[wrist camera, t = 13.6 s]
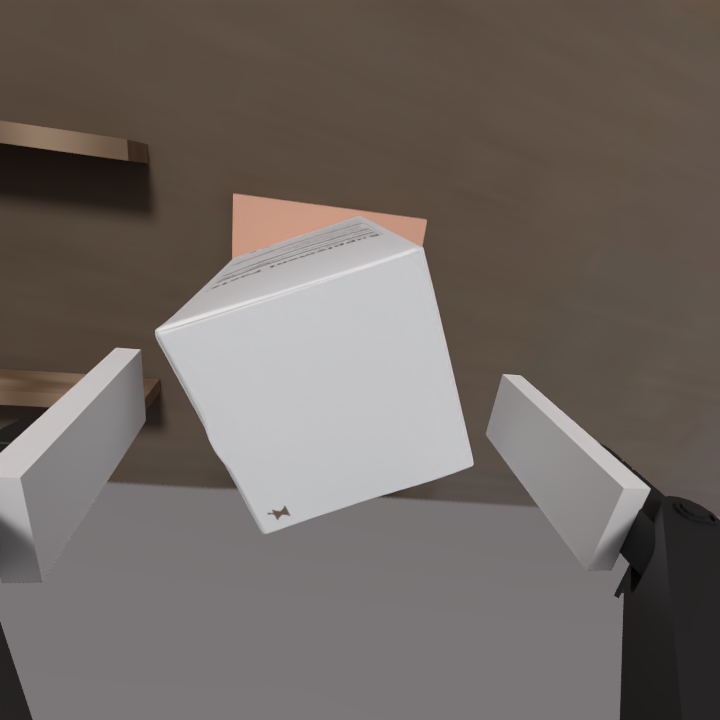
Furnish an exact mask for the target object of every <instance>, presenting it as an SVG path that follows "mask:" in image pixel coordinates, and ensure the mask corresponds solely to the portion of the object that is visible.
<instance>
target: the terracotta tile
mask: <svg viewBox="0 0 720 720" xmlns="http://www.w3.org/2000/svg"><path fill="white" fill-rule="evenodd" d="M357 216H362V217H364V218H366V219H368V220H370V221H372V222H374V223H376V224H378V225H380V226H382V227H384V228H386V229H387V230H389V231H391V232H393V233H395V234H397V235H399V236H401V237H403V238H405V239H407V240H409V241H411V242H413V243H415V244H417V245H419V246H421V247H422V245H423V240H424V234H425V229H426V223H427V220H426V219H423V218H415V217H408V216H400V215H393V214H385V213H378V212H370V211H363V210H356V209H348V208H341V207H333V206H326V205H318V204H311V203H303V202H296V201H288V200H281V199H274V198H266V197H259V196H251V195H244V194H236V193H235V194H233V239H232V259H233V258H235V257H238V256H241V255H243V254H246V253H249V252H252V251H255V250H258V249H261V248H264V247H267V246H270V245H273V244H276V243H279V242H282V241H285V240H288V239H291V238H294V237H297V236H300V235H303V234H306V233H309V232H312V231H315V230H318V229H321V228H324V227H327V226H330V225H332V224H335V223H338V222H341V221H344V220H347V219H350V218H354V217H357Z"/></svg>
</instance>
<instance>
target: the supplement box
mask: <svg viewBox="0 0 720 720" xmlns="http://www.w3.org/2000/svg"><path fill="white" fill-rule="evenodd" d="M155 336H156V339H157V341H158V343H159V344H160V346H161V348H162V350H163V352H164V354H165V355H166V357H167V359H168V361H169V363H170V365H171V366H172V368H173V370H174V372H175V374H176V376H177V377H178V379H179V381H180V383H181V385H182V387H183V388H184V390H185V392H186V394H187V396H188V398H189V399H190V401H191V403H192V405H193V407H194V409H195V410H196V412H197V414H198V416H199V418H200V420H201V422H202V424H203V425H204V427H205V429H206V432H207V435H208V438H209V441H210V443H211V445H212V447H213V449H214V451H215V452H216V454H217V455H218V456H219V458H220V459H221V460H222V462H223V463H224V464H225V466H226V468H227V470H228V471H229V473H230V475H231V477H232V479H233V480H234V482H235V484H236V486H237V488H238V490H239V491H240V493H241V495H242V497H243V499H244V501H245V503H246V505H247V507H248V509H249V511H250V512H251V514H252V516H253V518H254V520H255V521H256V523H257V525H258V527H259V529H260V530H261V532H262V533H263V534H267V533H271V532H274V531H277V530H280V529H283V528H285V527H288V526H291V525H294V524H297V523H300V522H303V521H305V520H309V519H312V518H315V517H317V516H321V515H324V514H327V513H329V512H333V511H336V510H338V509H342V508H345V507H348V506H351V505H354V504H357V503H360V502H363V501H366V500H370V499H373V498H376V497H379V496H382V495H386V494H389V493H392V492H396V491H399V490H402V489H406V488H409V487H412V486H416V485H419V484H422V483H426V482H429V481H432V480H435V479H438V478H441V477H444V476H447V475H449V474H452V473H455V472H458V471H460V470H463V469H466V468H469V467H471V466H473V457H472V453H471V448H470V444H469V440H468V436H467V431H466V427H465V423H464V418H463V414H462V409H461V405H460V401H459V396H458V392H457V388H456V383H455V379H454V375H453V370H452V366H451V362H450V357H449V353H448V349H447V344H446V340H445V336H444V332H443V327H442V323H441V319H440V315H439V311H438V306H437V302H436V298H435V294H434V289H433V285H432V281H431V277H430V273H429V269H428V265H427V261H426V257H425V253H424V249H423V248H422V247H421V246H419V245H417V244H415V243H413V242H411V241H409V240H407V239H405V238H403V237H401V236H399V235H397V234H395V233H393V232H391V231H389V230H387V229H386V228H384V227H382V226H380V225H378V224H376V223H374V222H372V221H370V220H368V219H366V218H364V217H362V216H357V217H354V218H350V219H347V220H344V221H341V222H338V223H335V224H332V225H330V226H327V227H324V228H321V229H318V230H315V231H312V232H309V233H306V234H303V235H300V236H297V237H294V238H291V239H288V240H285V241H282V242H279V243H276V244H273V245H270V246H267V247H264V248H261V249H258V250H255V251H252V252H249V253H246V254H243V255H241V256H238V257H235V258H233V259H232V260H231V261H230V262H229V263H228V264H227V265H226V266H225V267H224V268H223V269H222V270H221V271H220V272H219V273H218V274H217V275H216V276H215V277H214V278H213V279H212V280H211V281H210V282H209V283H207V284H206V285H205V286H204V287H203V288H202V289H201V290H200V291H199V292H198V293H197V294H196V295H195V296H194V297H193V298H192V299H191V300H190V301H189V302H188V303H186V304H185V305H184V306H183V307H182V308H181V309H180V310H179V311H178V312H177V313H176V314H175V315H174V316H172V317H171V318H170V319H169V320H168V321H167V322H165V323H164V324H163V325H162V326H160V327H159V328H157V329H156V331H155Z"/></svg>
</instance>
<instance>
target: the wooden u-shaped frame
mask: <svg viewBox="0 0 720 720" xmlns="http://www.w3.org/2000/svg"><path fill="white" fill-rule="evenodd" d="M0 143H5V144H12V145H19V146H26V147H33V148H41V149H48V150H55V151H62V152H69V153H76V154H83V155H90V156H97V157H105V158H112V159H119V160H126V161H133V162H141V163H148V150H147V144H143V143H139V142H135V141H131V140H127V139H121V138H114V137H107V136H100V135H94V134H87V133H80V132H73V131H67V130H60V129H53V128H46V127H40V126H33V125H26V124H19V123H13V122H6V121H0ZM86 375H87V374H76V373H61V372H45V371H29V370H13V369H0V405H16V406H35V407H51V406H53V405H54V404H55V403H56V402H57V401H58V400H59V399H60V398H61V397H63V396H64V395H65V394H66V393H67V392H68V391H69V390H70V389H71V388H72V387H74V386H75V385H76V384H77V383H78V382H79V381H80V380H81V379H82V378H83V377H85V376H86ZM143 387H144V401H145V412H146V411H147V410H148V408H149V407H150V405H151V404H152V403H153V401H154V400H155V398H156V397H157V395H158V394H159V393H160V379H155V378H143Z"/></svg>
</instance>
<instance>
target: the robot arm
mask: <svg viewBox="0 0 720 720" xmlns="http://www.w3.org/2000/svg"><path fill="white" fill-rule="evenodd" d="M145 421H146V415H145V401H144V387H143V372H142V358H141V350H140V349H125V348H115V349H114V350H113V351H112V352H111V353H110V354H109V355H108V356H107V357H105V358H104V359H103V360H102V361H101V362H100V363H99V364H98V365H97V366H96V367H94V368H93V369H92V370H91V371H90V372H89V373H88V374H87V375H86V376H85V377H83V378H82V379H81V380H80V381H79V382H78V383H77V384H76V385H75V386H74V387H72V388H71V389H70V390H69V391H68V392H67V393H66V394H65V395H64V396H63V397H61V398H60V399H59V400H58V401H57V402H56V403H55V404H54V405H53V406H51V407H50V408H49V409H48V410H47V411H46V412H45V413H44V414H43V415H42V416H40V417H39V418H38V419H36V418H23V419H21V420H19V421H17V422H15V423H13V424H11V425H8V426H6V427H4V428H2V429H1V430H0V577H1V581H2V583H34V582H43V581H44V579H45V578H46V576H47V574H48V573H49V571H50V570H51V568H52V567H53V565H54V564H55V562H56V560H57V558H58V557H59V556H60V554H61V552H62V551H63V549H64V548H65V546H66V545H67V543H68V542H69V540H70V538H71V537H72V535H73V534H74V532H75V530H76V529H77V528H78V526H79V524H80V523H81V521H82V520H83V518H84V517H85V515H86V514H87V512H88V510H89V509H90V507H91V506H92V504H93V503H94V501H95V500H96V498H97V496H98V495H99V493H100V492H101V490H102V488H103V487H104V485H105V484H106V482H107V481H108V479H109V478H110V476H111V475H112V473H113V471H114V470H115V468H116V467H117V465H118V464H119V462H120V460H121V459H122V457H123V456H124V454H125V453H126V451H127V450H128V448H129V446H130V445H131V443H132V442H133V440H134V439H135V437H136V435H137V434H138V432H139V431H140V429H141V428H142V426H143V425H144V423H145ZM486 436H487V437H488V438H489V440H490V441H491V442H492V444H493V445H494V447H495V448H496V449H497V451H498V452H499V453H500V455H501V456H502V457H503V459H504V460H505V461H506V463H507V464H508V465H509V467H510V468H511V470H512V471H513V472H514V474H515V475H516V476H517V478H518V479H519V480H520V482H521V483H522V484H523V486H524V487H525V488H526V490H527V491H528V493H529V494H530V495H531V497H532V498H533V499H534V501H535V502H536V503H537V505H538V506H539V507H540V509H541V510H542V511H543V513H544V514H545V515H546V517H547V518H548V519H549V521H550V522H551V523H552V525H553V526H554V528H555V529H556V530H557V532H558V533H559V534H560V536H561V537H562V538H563V540H564V541H565V543H566V544H567V545H568V547H569V548H570V549H571V551H572V552H573V553H574V554H575V556H576V557H577V559H578V560H579V561H580V563H581V564H582V565H583V567H584V568H585V570H586V571H599V570H612V568H613V566H614V564H615V562H616V560H617V558H618V556H619V553H621V554H622V555H623V557H624V558H625V559H626V560H627V561H628V562H629V563H630V564H629V566H628V568H627V571H626V573H625V574H624V576H623V578H622V580H621V582H620V584H619V586H618V588H617V590H616V592H615V595H614V596H616V597H618V598H619V596H620V595H621V593H624V605H623V608H624V609H623V637H622V669H621V670H622V671H621V701H620V702H621V703H620V720H720V520H719V519H718V518H717V517H716V516H715V515H714V514H713V513H712V512H710V511H708V510H707V509H705V508H704V507H702V506H700V505H698V504H696V503H694V502H692V501H690V500H687V499H683V498H680V497H674V496H667V497H665V496H664V495H663V494H662V493H661V492H660V491H658V490H657V489H656V488H655V487H654V486H653V485H651V484H650V483H649V482H648V481H647V480H646V479H644V478H643V477H642V476H641V475H640V474H639V473H637V472H636V471H635V470H632V467H630V466H629V465H628V464H627V463H626V462H625V461H622V459H621V458H620V457H619V456H618V455H616V454H615V453H614V452H613V451H612V450H611V449H609V448H607V447H606V446H604V445H602V444H601V443H599V442H597V441H595V440H594V439H593V438H592V437H591V436H590V435H589V434H587V433H586V432H585V431H584V430H583V429H582V428H581V427H579V426H578V425H577V424H576V423H575V422H574V421H573V420H571V419H570V418H569V417H568V416H567V415H566V414H564V413H563V412H562V411H561V410H560V409H559V408H558V407H556V406H555V405H554V404H553V403H552V402H551V401H550V400H548V399H547V398H546V397H545V396H544V395H543V394H542V393H540V392H539V391H538V390H537V389H536V388H535V387H534V386H532V385H531V384H530V383H529V382H528V381H527V380H525V379H524V378H523V377H522V376H521V375H507V374H503V375H502V379H501V382H500V386H499V389H498V393H497V396H496V400H495V403H494V407H493V410H492V414H491V418H490V421H489V425H488V428H487V432H486ZM0 720H32V717H31V714H30V710H29V707H28V705H27V701H26V699H25V695H24V693H23V689H22V686H21V683H20V680H19V677H18V674H17V671H16V668H15V665H14V662H13V659H12V656H11V653H10V650H9V647H8V644H7V641H6V638H5V635H4V632H3V629H2V626H1V623H0Z"/></svg>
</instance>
